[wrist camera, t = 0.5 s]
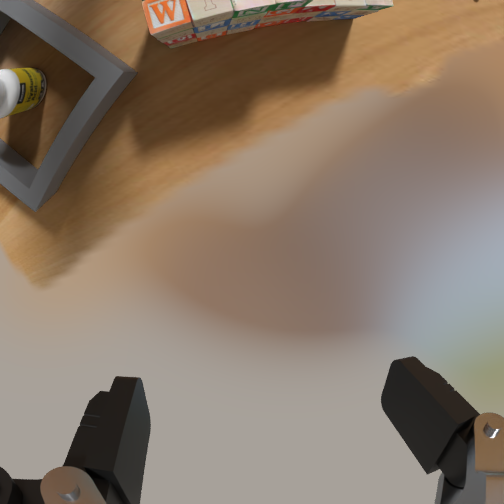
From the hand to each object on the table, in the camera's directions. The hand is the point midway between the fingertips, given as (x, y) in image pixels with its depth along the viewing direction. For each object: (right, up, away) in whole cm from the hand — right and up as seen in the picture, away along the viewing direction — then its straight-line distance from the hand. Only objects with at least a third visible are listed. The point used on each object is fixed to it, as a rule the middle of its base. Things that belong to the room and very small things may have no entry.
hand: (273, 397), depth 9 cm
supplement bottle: (-27, +24, +17) cm, 40 cm away
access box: (-27, +24, +17) cm, 40 cm away
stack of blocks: (0, +31, +17) cm, 35 cm away
